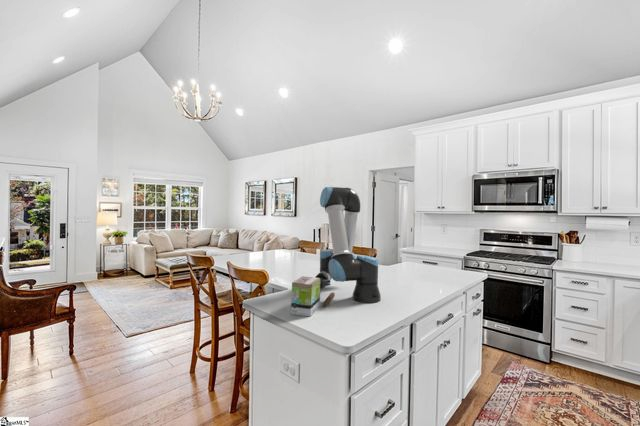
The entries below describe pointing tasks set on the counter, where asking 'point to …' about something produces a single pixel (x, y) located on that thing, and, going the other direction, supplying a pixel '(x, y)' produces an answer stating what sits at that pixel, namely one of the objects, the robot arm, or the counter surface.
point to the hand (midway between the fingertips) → (311, 289)
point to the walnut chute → (328, 299)
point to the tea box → (305, 296)
